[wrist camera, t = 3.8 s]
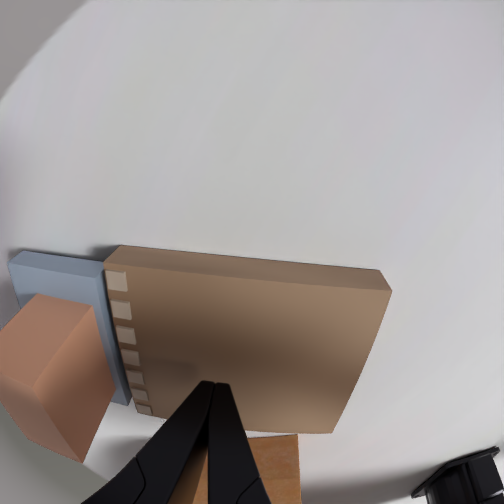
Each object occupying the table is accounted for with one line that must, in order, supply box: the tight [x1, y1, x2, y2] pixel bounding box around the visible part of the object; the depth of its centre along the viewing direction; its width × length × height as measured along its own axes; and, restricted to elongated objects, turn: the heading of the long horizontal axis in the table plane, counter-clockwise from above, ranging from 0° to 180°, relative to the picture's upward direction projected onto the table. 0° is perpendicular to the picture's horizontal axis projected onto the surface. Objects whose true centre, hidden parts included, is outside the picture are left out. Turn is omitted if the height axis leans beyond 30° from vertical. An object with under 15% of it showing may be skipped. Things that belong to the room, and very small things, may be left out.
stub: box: [0, 251, 132, 464], centre depth 8 cm, size 6×4×5 cm, turn 175°
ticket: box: [103, 245, 392, 434], centre depth 10 cm, size 7×8×1 cm
